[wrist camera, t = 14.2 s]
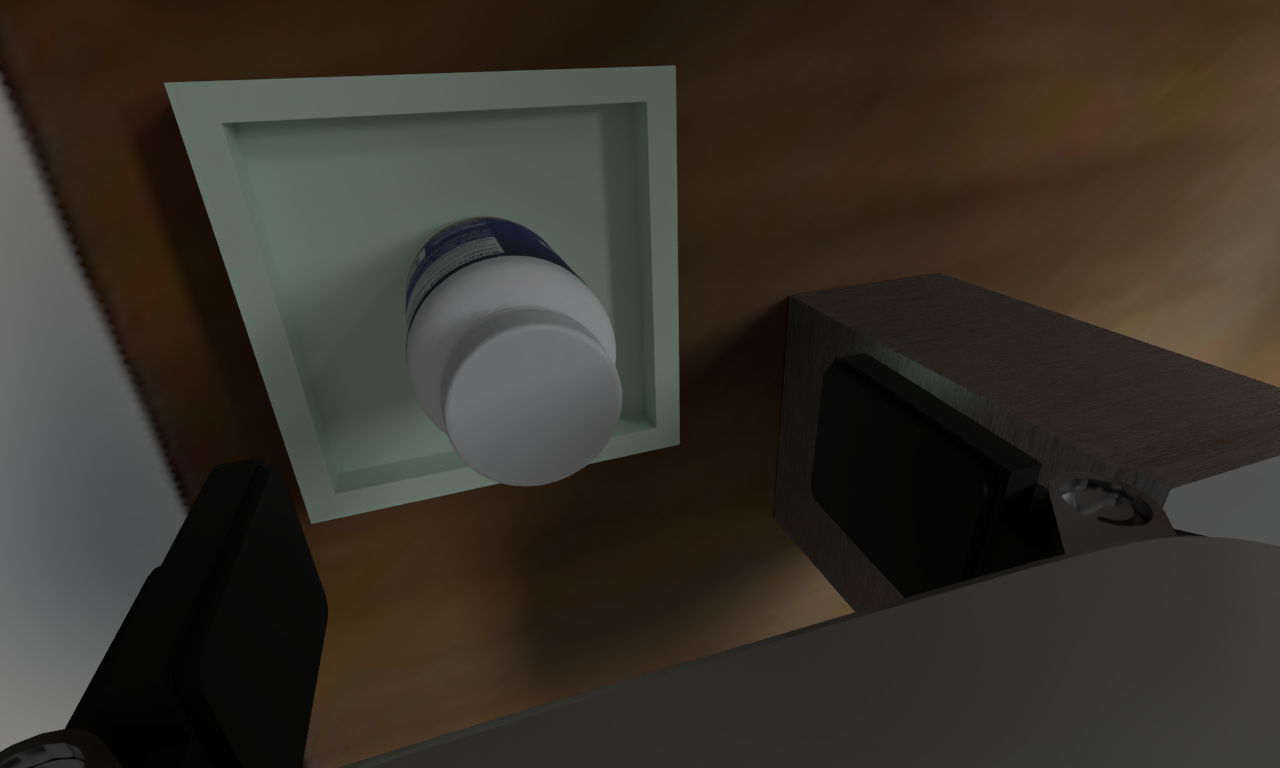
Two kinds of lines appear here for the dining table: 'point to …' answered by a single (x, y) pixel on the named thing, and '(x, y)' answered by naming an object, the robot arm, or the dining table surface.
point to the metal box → (1032, 409)
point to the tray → (400, 224)
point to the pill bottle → (510, 352)
